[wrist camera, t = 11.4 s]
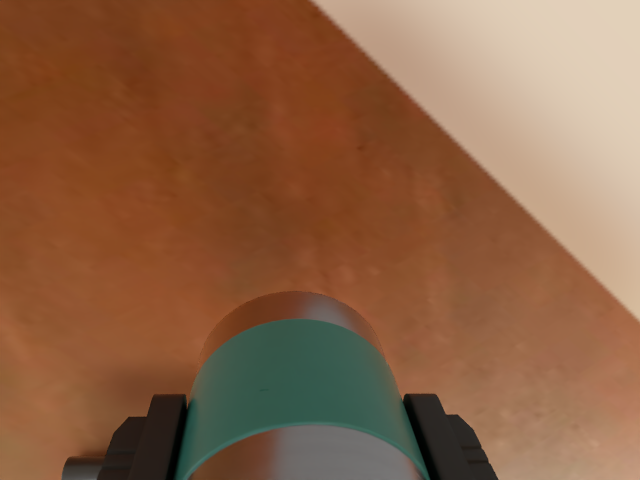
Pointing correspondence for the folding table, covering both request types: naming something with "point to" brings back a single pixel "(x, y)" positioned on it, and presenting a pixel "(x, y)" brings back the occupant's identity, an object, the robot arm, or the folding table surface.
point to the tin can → (296, 398)
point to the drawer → (82, 468)
